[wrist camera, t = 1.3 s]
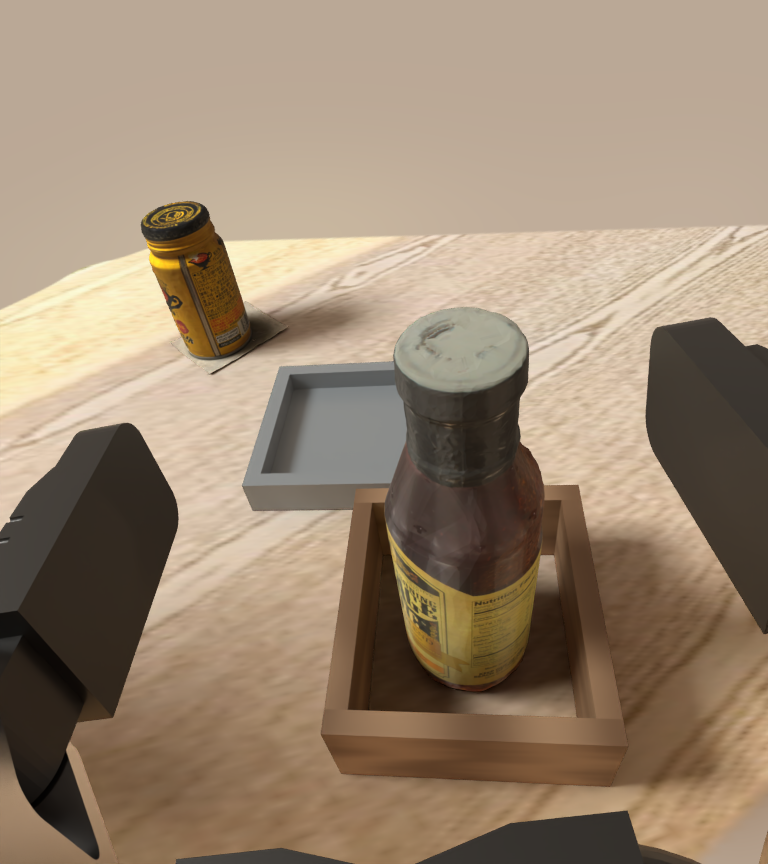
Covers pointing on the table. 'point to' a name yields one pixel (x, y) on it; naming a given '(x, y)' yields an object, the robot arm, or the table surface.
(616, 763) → the holder
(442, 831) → the table surface
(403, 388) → the sauce bottle
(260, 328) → the condiment
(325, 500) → the tray
